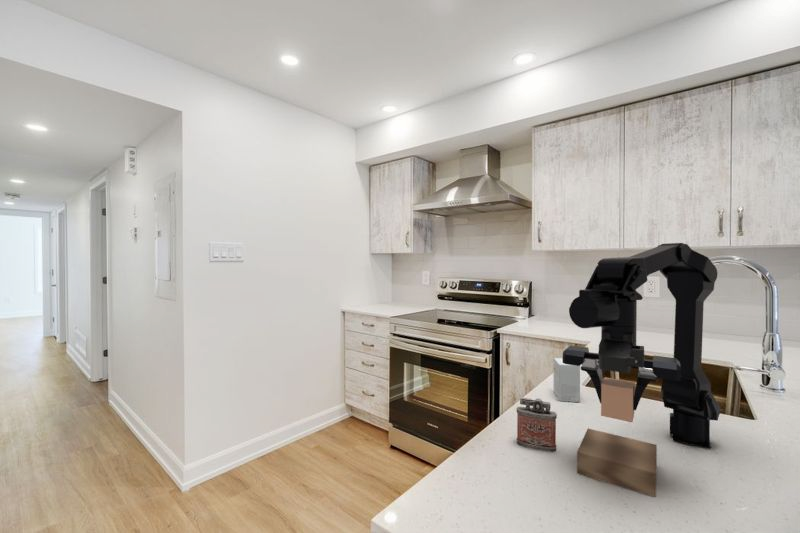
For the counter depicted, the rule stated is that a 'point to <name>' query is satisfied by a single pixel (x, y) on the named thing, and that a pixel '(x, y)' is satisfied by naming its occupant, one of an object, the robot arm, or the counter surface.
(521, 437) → the lighter
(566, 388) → the small box
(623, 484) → the plate
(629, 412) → the terracotta block
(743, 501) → the counter surface
